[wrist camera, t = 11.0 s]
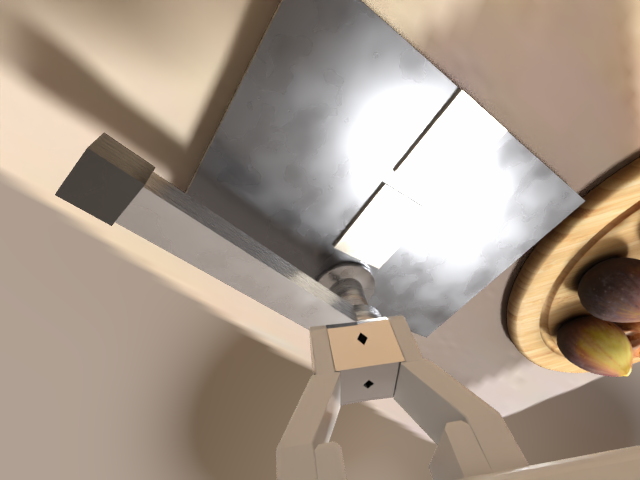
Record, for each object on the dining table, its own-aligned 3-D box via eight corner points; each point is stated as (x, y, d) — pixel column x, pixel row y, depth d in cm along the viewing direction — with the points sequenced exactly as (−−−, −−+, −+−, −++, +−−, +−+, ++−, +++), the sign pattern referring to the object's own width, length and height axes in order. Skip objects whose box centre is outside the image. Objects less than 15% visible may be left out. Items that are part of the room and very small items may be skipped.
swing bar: (391, 319, 25) (400, 340, 24) (351, 347, 26) (357, 368, 25) (111, 122, 15) (94, 137, 13) (67, 185, 16) (47, 205, 14)
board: (303, -45, 16) (318, -58, 12) (570, 191, 28) (627, 227, 23) (166, 230, 24) (146, 281, 20) (417, 327, 35) (438, 374, 31)
